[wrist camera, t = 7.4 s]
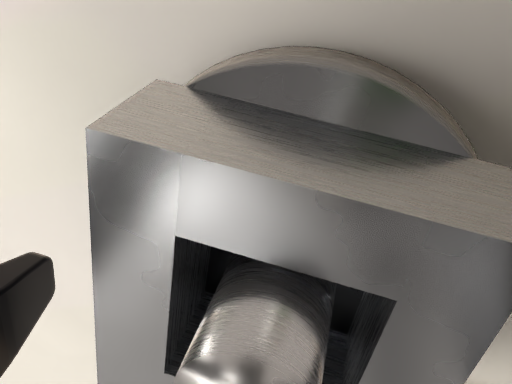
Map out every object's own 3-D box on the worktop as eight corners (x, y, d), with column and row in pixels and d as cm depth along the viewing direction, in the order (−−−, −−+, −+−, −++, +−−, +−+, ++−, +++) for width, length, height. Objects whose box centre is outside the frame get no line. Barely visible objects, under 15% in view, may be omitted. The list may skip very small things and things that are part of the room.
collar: (390, 392, 12) (390, 494, 10) (146, 314, 13) (98, 393, 11) (509, 167, 8) (550, 253, 6) (156, 79, 9) (85, 127, 7)
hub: (411, 380, 14) (422, 606, 9) (136, 293, 15) (25, 458, 10) (566, 102, 9) (748, 290, 4) (143, 6, 10) (-58, 76, 6)
